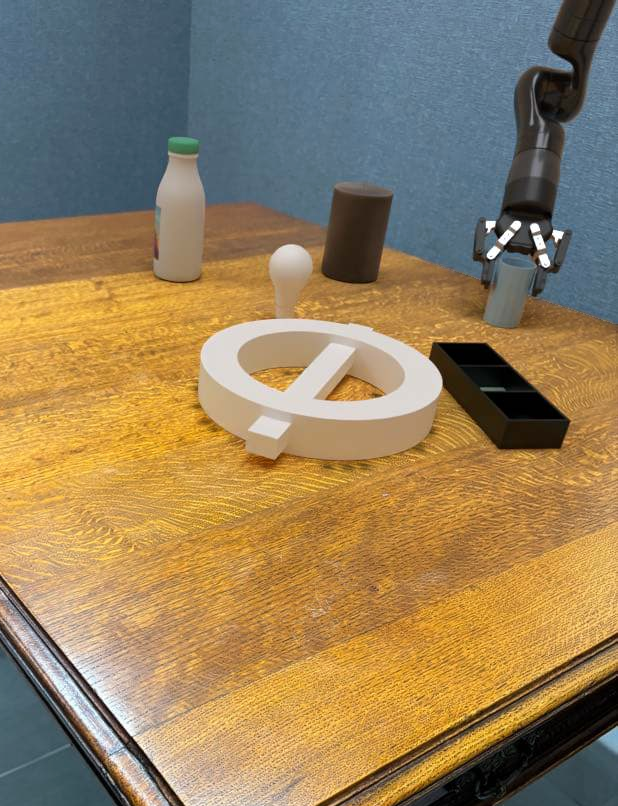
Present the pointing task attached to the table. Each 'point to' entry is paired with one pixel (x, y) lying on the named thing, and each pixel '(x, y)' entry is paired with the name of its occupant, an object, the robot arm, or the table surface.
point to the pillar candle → (356, 232)
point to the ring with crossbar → (317, 389)
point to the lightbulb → (289, 277)
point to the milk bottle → (180, 215)
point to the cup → (509, 292)
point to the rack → (498, 397)
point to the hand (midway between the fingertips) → (511, 290)
